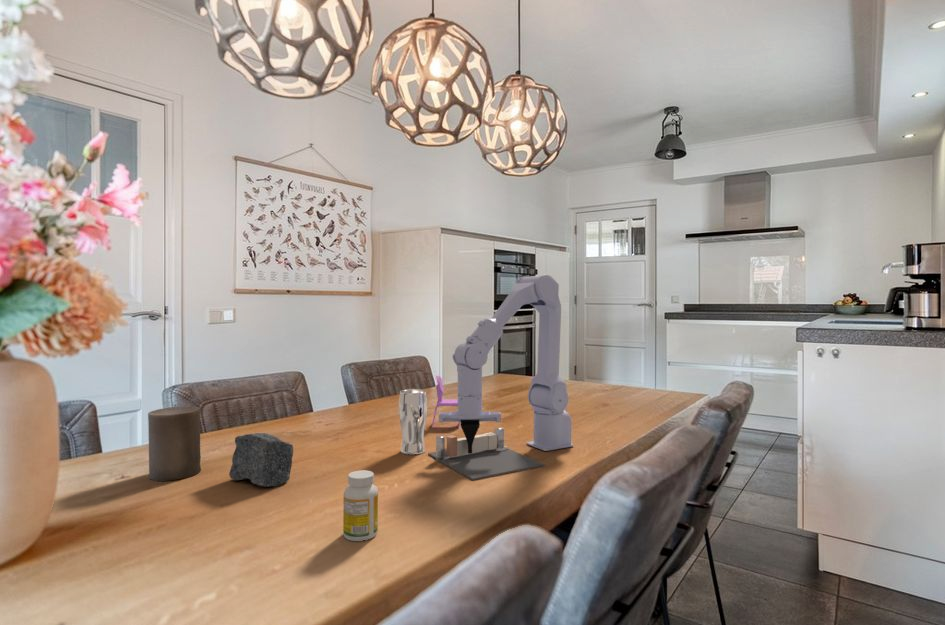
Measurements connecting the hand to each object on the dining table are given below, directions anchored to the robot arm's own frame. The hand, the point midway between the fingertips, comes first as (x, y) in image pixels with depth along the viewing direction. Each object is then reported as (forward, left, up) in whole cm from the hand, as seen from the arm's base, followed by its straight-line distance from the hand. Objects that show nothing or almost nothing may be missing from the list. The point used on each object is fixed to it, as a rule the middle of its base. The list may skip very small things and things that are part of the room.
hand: (469, 452), depth 120 cm
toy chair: (-11, -33, -2) cm, 35 cm away
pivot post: (-10, -3, -2) cm, 11 cm away
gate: (-2, -3, -1) cm, 4 cm away
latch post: (+5, -4, -2) cm, 7 cm away
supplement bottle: (+35, +25, -2) cm, 42 cm away
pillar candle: (+60, -23, -2) cm, 64 cm away
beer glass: (+9, -13, -2) cm, 16 cm away
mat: (-3, +2, -2) cm, 4 cm away
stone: (+45, -9, -2) cm, 46 cm away
